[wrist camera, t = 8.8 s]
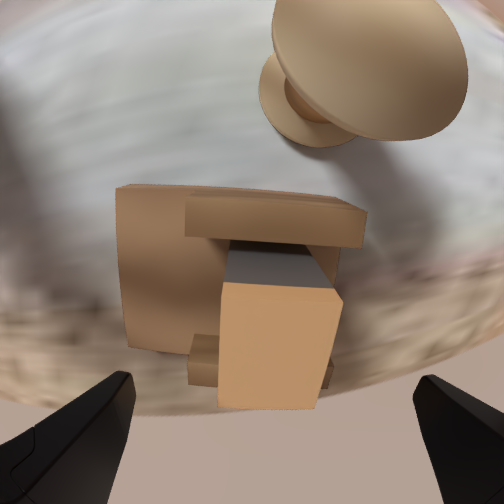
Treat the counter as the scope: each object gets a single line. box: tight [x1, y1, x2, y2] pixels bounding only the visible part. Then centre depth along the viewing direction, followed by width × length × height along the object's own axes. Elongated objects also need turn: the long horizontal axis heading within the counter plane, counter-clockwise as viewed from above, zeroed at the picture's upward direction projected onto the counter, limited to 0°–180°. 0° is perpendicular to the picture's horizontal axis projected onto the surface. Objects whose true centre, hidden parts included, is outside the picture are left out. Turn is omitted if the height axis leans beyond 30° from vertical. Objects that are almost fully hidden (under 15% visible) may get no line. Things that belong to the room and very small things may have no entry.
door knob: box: [259, 0, 468, 148], centre depth 10 cm, size 6×6×8 cm
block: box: [218, 239, 343, 410], centre depth 12 cm, size 4×4×6 cm
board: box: [116, 184, 367, 389], centre depth 14 cm, size 9×11×4 cm
